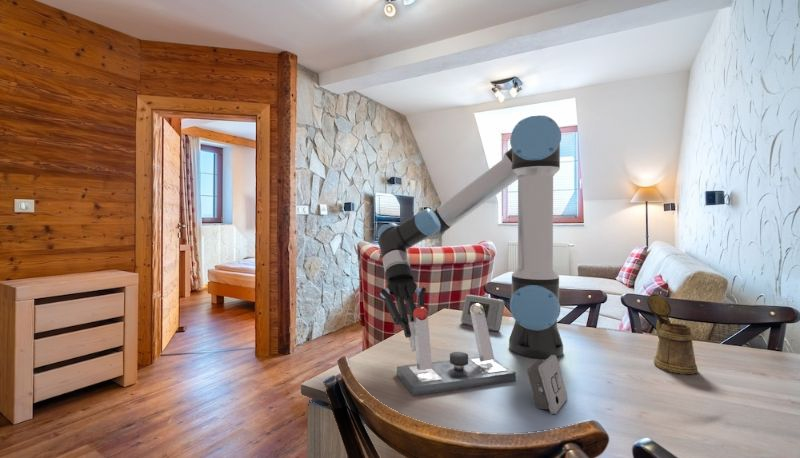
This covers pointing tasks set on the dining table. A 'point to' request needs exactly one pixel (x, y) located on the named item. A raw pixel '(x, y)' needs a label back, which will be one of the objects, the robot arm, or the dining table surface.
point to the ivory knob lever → (481, 333)
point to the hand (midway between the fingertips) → (416, 348)
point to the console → (454, 376)
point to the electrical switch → (547, 384)
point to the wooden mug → (672, 340)
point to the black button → (459, 358)
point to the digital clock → (491, 310)
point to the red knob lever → (422, 338)
